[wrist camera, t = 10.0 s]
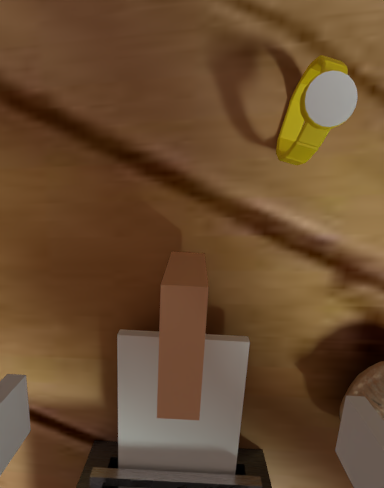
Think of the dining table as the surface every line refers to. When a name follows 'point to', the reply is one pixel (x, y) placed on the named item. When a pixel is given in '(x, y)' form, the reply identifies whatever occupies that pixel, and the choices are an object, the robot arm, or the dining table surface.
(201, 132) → the dining table surface
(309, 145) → the watch
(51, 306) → the dining table surface
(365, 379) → the pottery oil lamp
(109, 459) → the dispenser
